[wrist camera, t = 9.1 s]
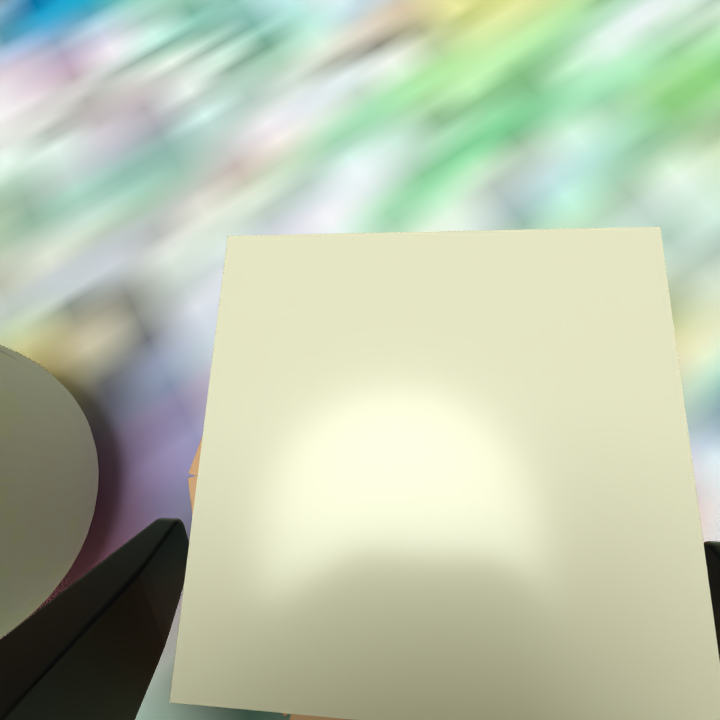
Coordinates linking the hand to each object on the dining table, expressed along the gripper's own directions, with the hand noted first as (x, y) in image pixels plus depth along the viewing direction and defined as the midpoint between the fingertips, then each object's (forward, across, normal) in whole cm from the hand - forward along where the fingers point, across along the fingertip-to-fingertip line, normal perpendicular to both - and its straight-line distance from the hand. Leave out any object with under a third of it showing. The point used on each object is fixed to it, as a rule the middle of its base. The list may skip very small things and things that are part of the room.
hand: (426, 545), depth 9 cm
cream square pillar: (+7, 0, +5) cm, 9 cm away
